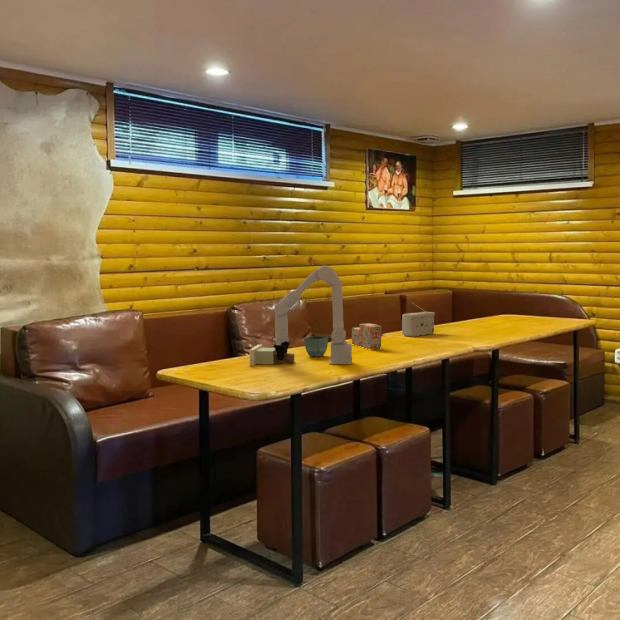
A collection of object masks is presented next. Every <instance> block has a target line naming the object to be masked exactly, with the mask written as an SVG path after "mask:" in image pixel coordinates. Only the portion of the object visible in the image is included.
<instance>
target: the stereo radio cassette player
mask: <svg viewBox="0 0 620 620" xmlns="http://www.w3.org/2000/svg"><path fill="white" fill-rule="evenodd" d="M411 303H412V304H413V305H414V306H416V307H417V308H419V309H420V310H422V311H420V312H410V313H403V314H402V318H401V331H402V332H401V333H402V335H403V336H404V337H410V336H411V338H413V337H420V335H421V336H426V334H429V335H433V334H435V315H436V312H435V311H434V312H433V311H426V310H425V309H423V308H421V307H419V305H416V304H415V303H414V302H411ZM432 333H433V334H432Z"/></svg>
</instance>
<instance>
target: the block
mask: <svg viewBox="0 0 620 620" xmlns="http://www.w3.org/2000/svg"><path fill="white" fill-rule="evenodd" d="M275 352H276V350H275V348H274V347H262V348H260V349H258V350H256V365H275V364H274V353H275Z"/></svg>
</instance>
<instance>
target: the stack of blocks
mask: <svg viewBox="0 0 620 620" xmlns="http://www.w3.org/2000/svg"><path fill="white" fill-rule="evenodd" d="M352 344H354V345H353V346H355V345H357V346H356V347H358V346H361V347H364V348H363V349H365V348H367V349H366V350H368V349H380V348H381V349H382V325H379V324H376V323H359V327H352V328H351V345H352ZM361 347H360V348H361Z"/></svg>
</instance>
